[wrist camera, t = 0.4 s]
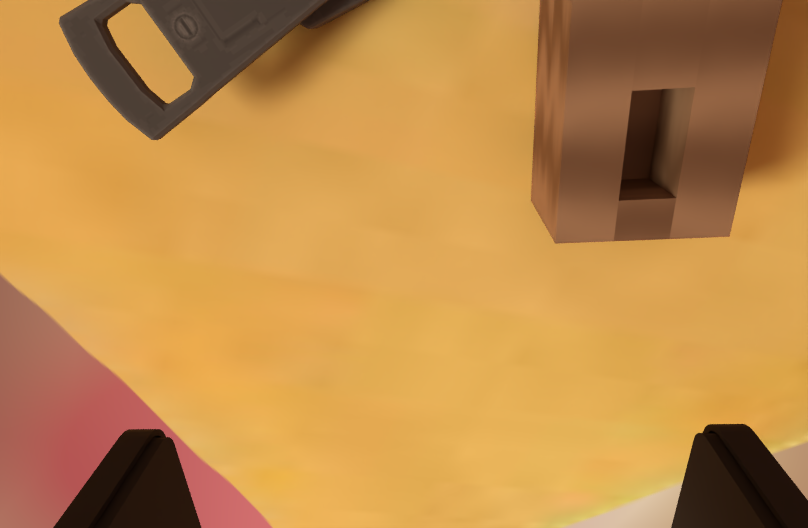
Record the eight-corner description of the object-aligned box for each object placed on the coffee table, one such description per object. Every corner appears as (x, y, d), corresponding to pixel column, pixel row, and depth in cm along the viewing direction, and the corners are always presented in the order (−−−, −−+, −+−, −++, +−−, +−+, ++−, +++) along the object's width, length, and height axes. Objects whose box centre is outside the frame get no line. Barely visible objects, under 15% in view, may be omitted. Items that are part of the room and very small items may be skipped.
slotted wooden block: (548, -179, 29) (589, -246, 21) (735, -196, 28) (843, -271, 21) (531, 200, 38) (555, 243, 31) (671, 194, 37) (729, 236, 30)
